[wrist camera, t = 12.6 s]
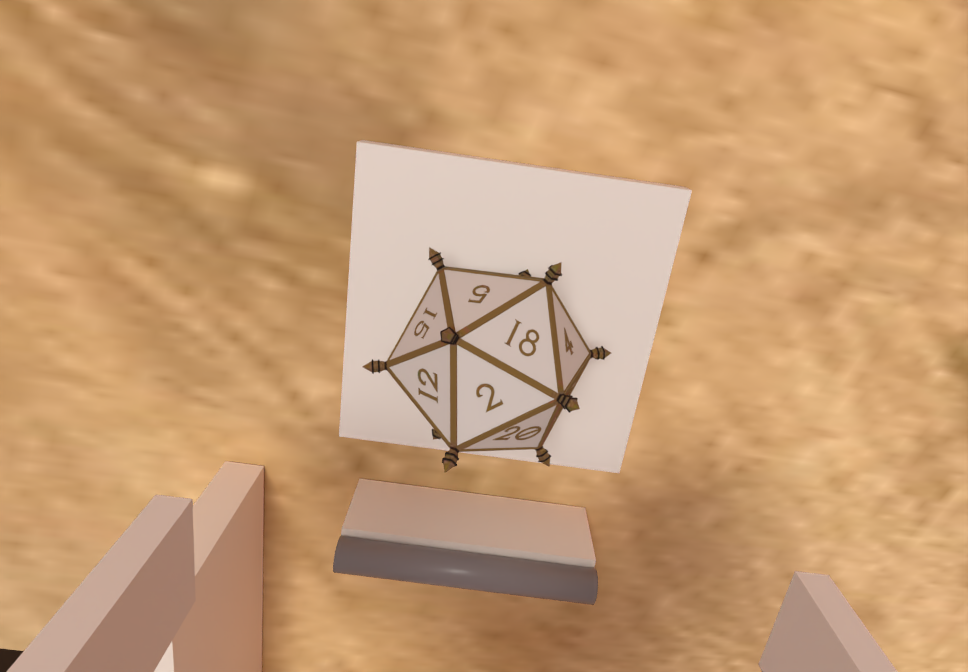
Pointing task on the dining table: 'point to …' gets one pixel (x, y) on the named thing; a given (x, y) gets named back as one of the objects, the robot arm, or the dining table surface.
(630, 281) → the mat
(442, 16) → the dining table surface
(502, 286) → the game die
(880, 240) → the dining table surface
